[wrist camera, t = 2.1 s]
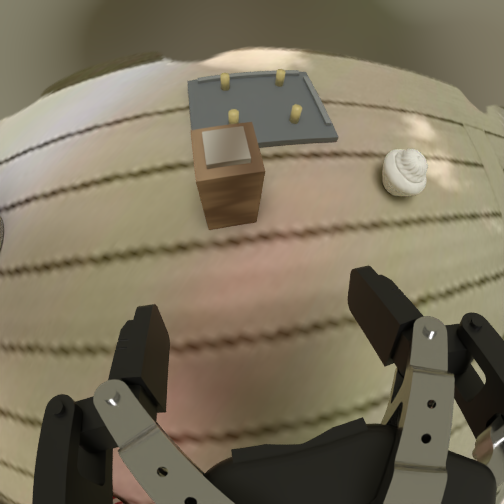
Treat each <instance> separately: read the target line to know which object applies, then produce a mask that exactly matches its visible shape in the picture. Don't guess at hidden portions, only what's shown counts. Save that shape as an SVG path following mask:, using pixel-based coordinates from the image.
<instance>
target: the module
mask: <svg viewBox="0 0 504 504" xmlns="http://www.w3.org/2000/svg"><path fill="white" fill-rule="evenodd" d="M191 140H192V150H193V159H194V168H195V177H196V184H197V187H198V191H199V195H200V199H201V202H202V206H203V210H204V213H205V217H206V221H207V224H208V228H209V230H212V229H218V228H224V227H230V226H236V225H242V224H248V223H254V222H256V221H257V216H258V210H259V204H260V198H261V193H262V187H263V181H264V175H265V169H264V165H263V161H262V157H261V153H260V149H259V146H258V142H257V138H256V134H255V131H254V127H253V123H252V122H246V123H237V124H229V125H222V126H215V127H208V128H202V129H196V130H191Z"/></svg>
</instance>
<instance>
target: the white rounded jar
mask: <svg viewBox="0 0 504 504" xmlns="http://www.w3.org/2000/svg"><path fill="white" fill-rule="evenodd" d="M427 169H428V164H427V160H426V159H425V157H424V155H422V154H421V152H418V150H414V149H407V150H403V149H395V150H392V151H390V152H389V153H388V154H387V155H386V157H385V159H384V163H383V169H382V176H383V184H384V187H385V189H386V190H387V191H388V192H389V193H390V194H392V195H395V196H413V195H417V194H419V193H421V192H422V191H423V189H424V188H425V186H426V172H427Z"/></svg>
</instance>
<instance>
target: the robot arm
mask: <svg viewBox="0 0 504 504" xmlns="http://www.w3.org/2000/svg"><path fill="white" fill-rule="evenodd" d="M2 239H3V222H2V219H1V217H0V248H1V244H2ZM348 306H349V309H350V311H351V313H352V315H353V316H354V318H355V319H356V321H357V322H358V324H359V326H360V327H361V329H362V330H363V332H364V333H365V335H366V337H367V338H368V340H369V341H370V343H371V345H372V346H373V348H374V350H375V351H376V353H377V355H378V356H379V358H380V359H381V361H382V363H383V364H384V366H388V365H390V364H393V363H395V365H396V366H397V368H396V370H395V374H394V379H393V384H392V389H391V393H390V398H389V402H388V406H387V410H386V412H385V415H384V417H383V419H382V422H381V424H366V423H365V421H364V419H363V417H362V418H359V419H357V420H354V421H351V422H348V423H345V424H342V425H339V426H336V427H333V428H331V429H330V430H328V431H326V432H324V433H322V434H321V435H319V436H317V437H315V438H313V439H311V440H310V441H308V442H306V443H303V444H298V445H270V444H264V445H259V446H253V447H246V448H240V449H232V450H231V451H232V457H230V458H228V459H225V460H223V461H221V462H219V463H218V464H216V465H215V466H213V467H212V468H211V469H209V470H208V471H207V472H206V473H204V472H203V471H202V470H201V469H200V468H199V467H198V466H197V465H196V464H195V463H194V462H193V461H192V460H191V459H190V458H189V457H188V456H187V455H186V454H185V453H184V452H183V451H182V450H181V449H180V448H179V447H178V446H177V445H176V444H175V443H174V441H173V440H172V439H171V438H170V437H169V436H168V435H167V434H166V432H165V431H164V430H163V429H162V428H161V427H160V425H159V424H158V423H157V422H156V418H157V413H161V412H166V400H167V379H168V363H169V350H170V340H169V335H168V332H167V329H166V327H165V324H164V322H163V319H162V317H161V315H160V312H159V310H158V307H157V306H156V305H155V304H153V305H146V306H139V307H137V309H136V312H135V316H134V320H128V321H127V322H126V324H125V325H124V326H123V328H122V329H121V331H120V335H119V338H118V342H117V346H116V350H115V354H114V358H113V362H112V366H111V370H110V375H109V379H108V381H106V382H104V383H102V384H101V385H100V386H99V387H98V388H97V389H96V391H95V393H94V396H93V397H90V398H87V399H83V400H80V401H77V402H74V401H73V399H72V398H71V397H69V396H68V395H64V394H61V395H57V396H55V397H53V398H52V399H51V400H50V401H49V403H48V404H47V406H46V409H45V414H44V418H43V423H42V428H41V433H40V438H39V444H38V450H37V457H36V465H35V474H34V485H33V504H113V486H112V461H113V448H116V447H119V448H120V449H119V450H118V453H119V455H120V457H121V459H122V460H123V462H124V463H125V464H126V466H127V467H128V469H129V470H130V472H131V473H132V474H133V476H134V477H135V478H136V480H137V481H138V482H139V484H140V485H141V486H142V488H143V489H144V490H145V491H146V493H147V494H148V495H149V496H150V497H151V499H152V500H153V501H154V502H155V503H156V504H495V502H496V491H497V487H498V486H500V485H501V484H502V483H503V482H504V341H503V339H502V338H501V337H500V336H499V334H498V333H497V332H496V331H495V329H494V328H493V327H492V326H491V325H490V323H489V322H488V321H487V320H486V319H485V318H484V317H483V316H481V315H480V314H477V313H467V314H465V315H464V316H463V318H462V320H461V322H460V324H454V325H444V324H443V323H442V322H441V321H440V320H439V319H437V318H434V317H430V316H423V315H422V314H421V313H420V312H419V310H418V309H417V308H416V307H415V306H414V305H413V304H412V302H411V301H410V300H409V299H408V298H407V297H406V296H405V295H404V293H403V292H402V291H401V290H400V289H398V287H397V286H396V285H395V283H394V282H393V281H392V280H390V279H389V278H387V277H385V276H383V275H378V274H377V273H376V272H375V271H374V270H373V269H372V267H370V266H364V267H360V268H355V269H352V271H351V274H350V283H349V291H348ZM473 359H475V360H476V362H477V363H478V365H479V366H480V368H481V369H482V371H483V372H484V374H485V377H486V383H485V385H484V383H483V382H482V380H481V379H480V377H479V375H478V374H477V372H476V371H475V369H474V368H473V366H472V365H471V362H472V361H473ZM454 399H455V400H456V402H457V404H458V406H459V408H460V409H461V411H462V413H463V415H464V417H465V419H466V421H467V423H468V425H469V427H470V428H471V430H472V432H473V434H474V436H475V439H476V442H475V449H474V450H473V452H472V455H473V458H474V459H477V461H476V460H473V459H470V458H467V457H464V456H462V455H459V454H456V453H454V452H451V451H449V450H448V448H449V441H450V434H451V426H452V416H453V404H454Z"/></svg>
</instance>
